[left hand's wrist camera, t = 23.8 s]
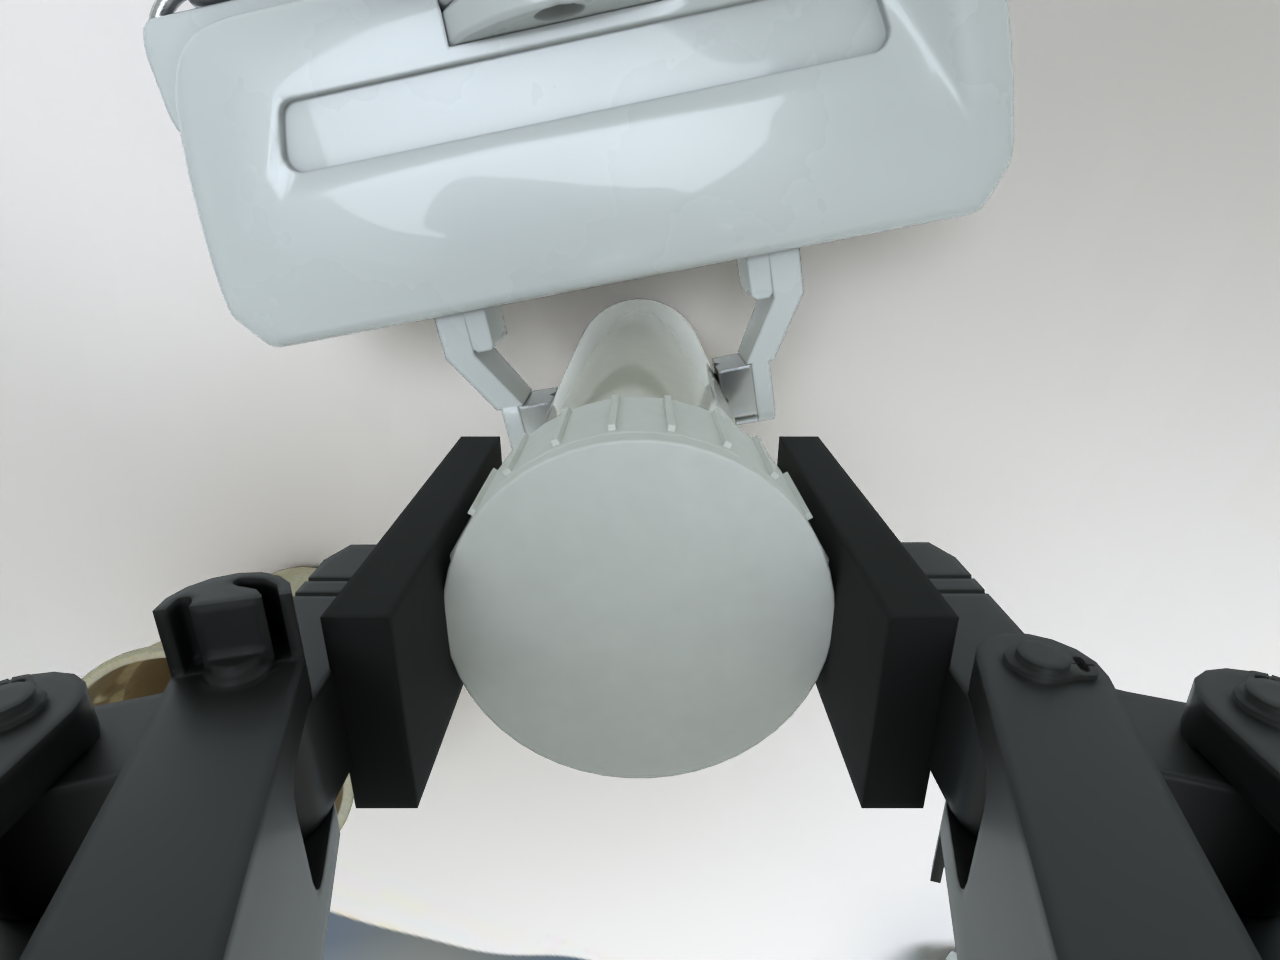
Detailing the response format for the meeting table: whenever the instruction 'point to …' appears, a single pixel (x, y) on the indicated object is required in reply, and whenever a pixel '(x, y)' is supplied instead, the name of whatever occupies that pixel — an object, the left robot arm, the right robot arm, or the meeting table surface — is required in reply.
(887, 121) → the right robot arm
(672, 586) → the lid
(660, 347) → the white bottle
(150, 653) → the flower pot
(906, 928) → the meeting table surface
